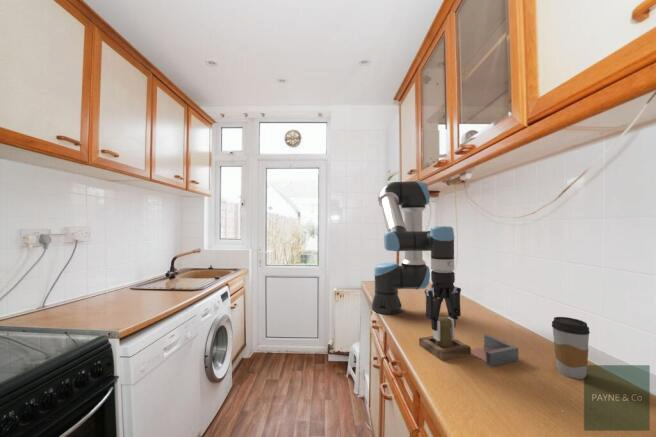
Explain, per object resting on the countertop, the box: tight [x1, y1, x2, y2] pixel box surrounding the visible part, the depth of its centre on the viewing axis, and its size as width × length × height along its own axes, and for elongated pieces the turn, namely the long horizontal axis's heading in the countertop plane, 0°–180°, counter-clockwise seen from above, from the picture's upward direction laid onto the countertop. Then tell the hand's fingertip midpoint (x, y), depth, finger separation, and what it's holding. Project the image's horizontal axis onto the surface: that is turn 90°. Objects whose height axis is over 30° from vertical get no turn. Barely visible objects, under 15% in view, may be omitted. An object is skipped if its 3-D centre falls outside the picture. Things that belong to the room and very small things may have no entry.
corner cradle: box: [471, 334, 520, 368], centre depth 91 cm, size 12×12×4 cm
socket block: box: [418, 335, 472, 361], centre depth 95 cm, size 12×12×3 cm
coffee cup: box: [551, 316, 591, 380], centre depth 80 cm, size 8×8×15 cm
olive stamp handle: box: [435, 316, 453, 349], centre depth 95 cm, size 6×6×11 cm
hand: (443, 338), depth 95 cm, fingers closed on olive stamp handle, 5 cm apart
